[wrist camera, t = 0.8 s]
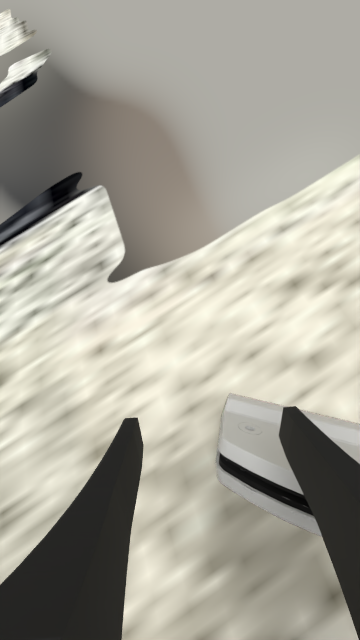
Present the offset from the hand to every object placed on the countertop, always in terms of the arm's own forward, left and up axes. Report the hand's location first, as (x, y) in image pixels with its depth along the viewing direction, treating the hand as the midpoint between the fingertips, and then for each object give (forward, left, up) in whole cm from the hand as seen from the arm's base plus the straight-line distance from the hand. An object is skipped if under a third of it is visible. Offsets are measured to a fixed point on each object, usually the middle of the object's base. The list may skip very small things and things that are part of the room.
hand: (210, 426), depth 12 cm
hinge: (-3, -6, -17) cm, 18 cm away
